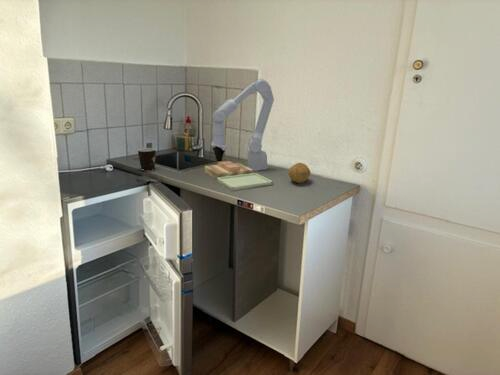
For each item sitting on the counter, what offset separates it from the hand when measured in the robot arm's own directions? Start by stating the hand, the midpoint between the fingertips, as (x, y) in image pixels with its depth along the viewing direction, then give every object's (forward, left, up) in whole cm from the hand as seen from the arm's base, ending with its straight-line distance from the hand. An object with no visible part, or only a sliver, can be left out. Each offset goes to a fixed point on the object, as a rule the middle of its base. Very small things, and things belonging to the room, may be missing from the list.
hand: (219, 161), depth 193 cm
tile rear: (0, +8, -1) cm, 8 cm away
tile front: (0, +15, -1) cm, 15 cm away
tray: (0, +28, -4) cm, 28 cm away
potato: (-23, +37, -4) cm, 44 cm away
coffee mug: (+34, -13, -4) cm, 37 cm away
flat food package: (0, +11, -4) cm, 12 cm away
